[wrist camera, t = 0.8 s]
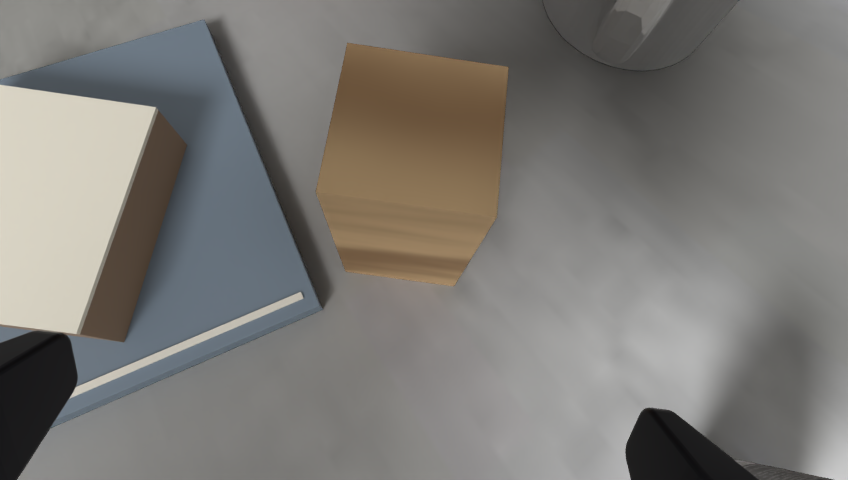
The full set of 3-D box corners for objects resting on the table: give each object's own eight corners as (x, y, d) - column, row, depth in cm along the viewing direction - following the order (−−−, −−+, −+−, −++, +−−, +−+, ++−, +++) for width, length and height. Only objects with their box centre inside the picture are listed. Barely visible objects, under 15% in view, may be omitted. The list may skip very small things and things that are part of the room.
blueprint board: (-140, 510, 17) (-290, 544, 13) (-182, 152, 21) (-307, 100, 17) (322, 309, 21) (307, 291, 17) (211, 33, 25) (178, -32, 21)
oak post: (454, 286, 21) (497, 217, 13) (345, 271, 21) (315, 191, 13) (464, 187, 23) (508, 66, 14) (363, 173, 23) (347, 43, 14)
